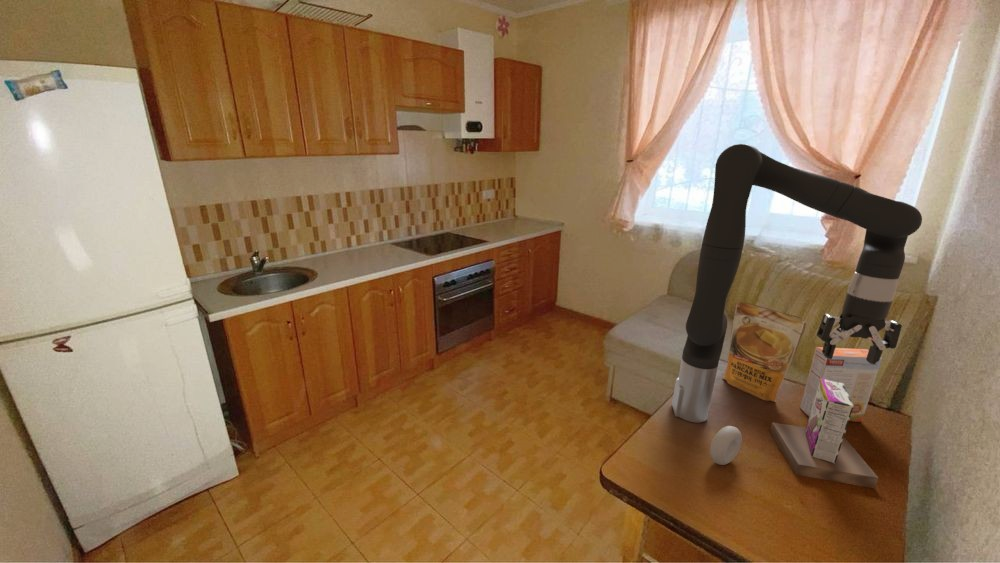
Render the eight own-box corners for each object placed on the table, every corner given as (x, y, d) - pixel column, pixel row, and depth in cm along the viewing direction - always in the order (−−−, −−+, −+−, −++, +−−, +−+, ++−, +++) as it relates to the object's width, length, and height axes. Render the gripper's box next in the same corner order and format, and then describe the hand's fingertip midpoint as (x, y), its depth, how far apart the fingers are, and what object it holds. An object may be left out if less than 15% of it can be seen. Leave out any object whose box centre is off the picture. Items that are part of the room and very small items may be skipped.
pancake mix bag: (725, 373, 139) (741, 298, 130) (786, 400, 123) (809, 317, 115) (715, 378, 135) (730, 302, 126) (776, 407, 120) (799, 322, 111)
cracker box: (846, 410, 119) (867, 348, 113) (862, 423, 113) (885, 358, 107) (797, 407, 120) (815, 345, 114) (810, 419, 114) (829, 355, 108)
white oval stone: (727, 450, 102) (734, 417, 99) (740, 458, 99) (748, 425, 96) (703, 464, 97) (710, 430, 94) (717, 474, 94) (724, 439, 91)
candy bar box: (803, 431, 105) (819, 377, 100) (827, 437, 103) (844, 382, 98) (809, 457, 96) (827, 399, 91) (835, 465, 94) (855, 406, 88)
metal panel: (795, 474, 95) (798, 464, 94) (769, 431, 109) (772, 422, 108) (874, 488, 91) (878, 477, 90) (837, 441, 106) (840, 432, 105)
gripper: (841, 296, 85) (821, 363, 90) (922, 303, 81) (896, 372, 86) (823, 286, 92) (806, 348, 97) (897, 291, 88) (875, 356, 93)
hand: (848, 359), depth 92 cm, fingers open, 8 cm apart
